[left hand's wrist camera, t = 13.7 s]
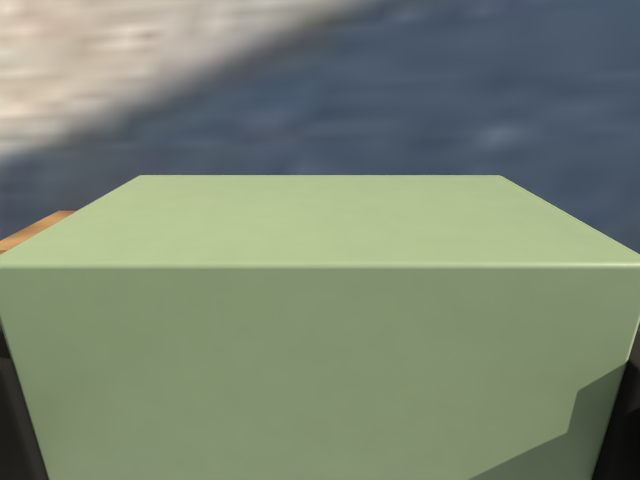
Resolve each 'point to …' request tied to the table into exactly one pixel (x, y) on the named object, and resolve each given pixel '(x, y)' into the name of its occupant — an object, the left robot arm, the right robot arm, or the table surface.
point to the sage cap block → (319, 331)
